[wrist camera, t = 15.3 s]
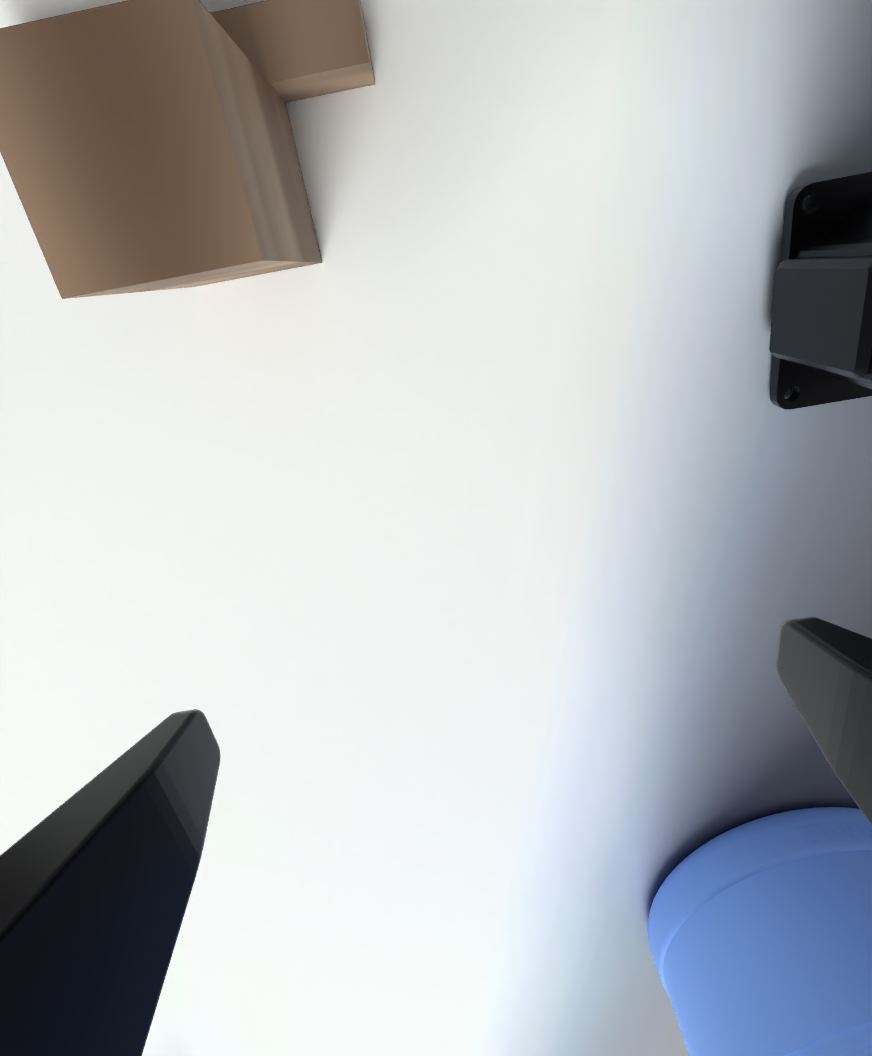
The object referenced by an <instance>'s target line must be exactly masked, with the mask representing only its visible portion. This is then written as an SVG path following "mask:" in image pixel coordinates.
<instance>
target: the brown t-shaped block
mask: <svg viewBox="0 0 872 1056" xmlns="http://www.w3.org/2000/svg"><path fill="white" fill-rule="evenodd" d="M374 84H375V81H374V75H373V69H372V64H371V58H370V52H369V46H368V41H367V35H366V29H365V23H364V18H363V12H362V8H361V4H360V0H268V1H263V2H258V3H254V4H249V5H244V6H240V7H235V8H231V9H226V10H221V11H217V12H212V13H209V11H208V10H207V9H206V8H205V7H204V5H203V4H202V3H201V2H200V1H199V0H128V1H124V2H119V3H114V4H110V5H105V6H101V7H96V8H92V9H87V10H82V11H78V12H73V13H69V14H64V15H60V16H55V17H50V18H46V19H41V20H37V21H32V22H28V23H23V24H18V25H14V26H9V27H5V28H0V152H1V155H2V157H3V159H4V162H5V164H6V167H7V169H8V171H9V174H10V176H11V178H12V181H13V183H14V186H15V188H16V190H17V193H18V195H19V198H20V200H21V202H22V205H23V207H24V209H25V212H26V214H27V217H28V219H29V221H30V224H31V226H32V228H33V231H34V233H35V236H36V238H37V240H38V243H39V245H40V247H41V250H42V252H43V255H44V257H45V259H46V262H47V264H48V267H49V269H50V271H51V274H52V276H53V278H54V281H55V283H56V286H57V288H58V290H59V293H60V295H61V297H62V299H66V298H77V297H88V296H99V295H110V294H121V293H132V292H143V291H154V290H165V289H176V288H187V287H196V286H202V285H207V284H212V283H217V282H223V281H228V280H233V279H238V278H244V277H249V276H254V275H259V274H265V273H270V272H275V271H281V270H286V269H291V268H296V267H302V266H307V265H312V264H317V263H322V259H321V255H320V251H319V246H318V242H317V238H316V233H315V229H314V225H313V220H312V216H311V212H310V207H309V203H308V199H307V195H306V190H305V186H304V182H303V177H302V173H301V169H300V164H299V160H298V156H297V151H296V147H295V143H294V138H293V134H292V130H291V125H290V121H289V117H288V112H287V108H286V104H285V103H286V102H291V101H296V100H301V99H305V98H310V97H315V96H320V95H325V94H330V93H335V92H340V91H344V90H349V89H354V88H359V87H364V86H369V85H374Z"/></svg>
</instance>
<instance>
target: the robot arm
mask: <svg viewBox="0 0 872 1056" xmlns="http://www.w3.org/2000/svg"><path fill="white" fill-rule="evenodd" d="M807 195H809V196H810V198H811V202H812V203H811V206H810V209H809V210H808V211H807V212H806V213H805V212H804V211H803V209H802V203H803V200H804V198H805V197H806V196H807ZM769 349H770V352H771V353H772V354H773V361H772V373H771V385H770V400H771V402H772V403H773V404H774V405H776V406H778V407H781V408H783V409H795V408H801V407H807V406H813V405H819V404H825V403H831V402H837V401H843V400H849V399H855V398H861V397H867V396H872V172H869V173H864V174H859V175H853V176H848V177H843V178H837V179H832V180H827V181H821V182H816V183H811V184H806V185H803V186H800V187H798V188H797V189H795V190H794V191H793V192H792V193H791V195H790V196H789V198H788V200H787V203H786V207H785V216H784V228H783V240H782V252H781V264H780V265H779V267H778V268H777V269H776V273H775V285H774V298H773V310H772V323H771V335H770V348H769ZM790 387H792V388H793V392H792V394H791V396H790V397H789V398H787V399H785V398H784V394H785V391H786V390H787V389H788V388H790ZM777 670H778V674H779V677H780V679H781V681H782V683H783V685H784V687H785V689H786V690H787V692H788V694H789V695H790V697H791V699H792V701H793V702H794V704H795V706H796V708H797V709H798V711H799V713H800V715H801V716H802V718H803V720H804V722H805V723H806V725H807V727H808V729H809V730H810V732H811V734H812V735H813V737H814V739H815V741H816V742H817V744H818V746H819V748H820V749H821V751H822V753H823V755H824V756H825V758H826V760H827V761H828V763H829V764H830V766H831V768H832V769H833V771H834V773H835V774H836V776H837V777H838V778H839V780H840V781H841V783H842V784H843V786H844V787H845V789H846V790H847V791H848V793H849V794H850V796H851V797H852V798H853V800H854V801H855V803H856V804H857V805H858V807H859V808H860V810H861V811H862V812H863V814H864V815H865V817H866V818H867V819H868V821H869V822H870V823H871V825H872V639H871V638H868V637H865V636H863V635H860V634H857V633H855V632H852V631H850V630H847V629H844V628H842V627H839V626H837V625H834V624H831V623H829V622H826V621H824V620H821V619H818V618H815V617H806V618H800V619H793V620H788V621H786V622H784V623H783V625H782V626H781V630H780V639H779V648H778V657H777ZM219 764H220V750H219V746H218V743H217V741H216V739H215V737H214V735H213V732H212V730H211V728H210V726H209V723H208V721H207V719H206V717H205V715H204V713H203V712H201V711H200V710H196V709H195V710H188V711H181V712H176V713H173V714H171V715H170V716H169V717H168V718H166V719H165V720H164V721H163V722H162V723H160V724H159V725H158V726H157V727H155V728H154V729H153V730H152V731H151V732H149V733H148V734H147V735H146V736H145V737H143V738H142V739H141V740H140V741H138V742H137V743H136V744H135V745H134V746H132V747H131V748H130V749H129V750H128V751H126V752H125V753H124V754H123V755H122V756H120V757H119V758H118V759H117V760H115V761H114V762H113V763H112V764H111V765H109V766H108V767H107V768H106V769H105V770H103V771H102V772H101V773H100V774H98V775H97V776H96V777H95V778H94V779H92V780H91V781H90V782H89V783H88V784H86V785H85V786H84V787H83V788H82V789H80V790H79V791H78V792H77V793H75V794H74V795H73V796H72V797H71V798H69V799H68V800H67V801H66V802H65V803H63V804H62V805H61V806H60V807H59V808H57V809H56V810H55V811H54V812H52V813H51V814H50V815H49V816H48V817H46V818H45V819H44V820H43V821H42V822H40V823H39V824H38V825H37V826H35V827H34V828H33V829H32V830H31V831H29V832H28V833H27V834H26V835H25V836H23V837H22V838H21V839H20V840H19V841H17V842H16V843H15V844H14V845H12V846H11V847H10V848H9V849H8V850H6V851H5V852H4V853H3V854H2V855H0V1056H142V1053H143V1049H144V1046H145V1043H146V1039H147V1036H148V1033H149V1030H150V1026H151V1023H152V1020H153V1016H154V1013H155V1010H156V1006H157V1003H158V1000H159V996H160V993H161V990H162V986H163V983H164V980H165V976H166V973H167V970H168V967H169V963H170V960H171V957H172V953H173V950H174V947H175V943H176V940H177V937H178V933H179V930H180V927H181V923H182V920H183V917H184V913H185V910H186V907H187V904H188V900H189V897H190V894H191V890H192V887H193V884H194V880H195V877H196V873H197V870H198V866H199V863H200V859H201V855H202V850H203V846H204V841H205V836H206V831H207V826H208V821H209V816H210V810H211V805H212V800H213V795H214V790H215V785H216V780H217V775H218V769H219Z"/></svg>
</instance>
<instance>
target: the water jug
mask: <svg viewBox="0 0 872 1056" xmlns="http://www.w3.org/2000/svg"><path fill="white" fill-rule="evenodd" d="M648 940H649V945H650V949H651V952H652V955H653V958H654V961H655V964H656V967H657V970H658V973H659V976H660V979H661V982H662V984H663V986H664V988H665V990H666V992H667V993H668V995H669V997H670V1000H671V1003H672V1006H673V1009H674V1012H675V1015H676V1018H677V1021H678V1024H679V1026H680V1029H681V1032H682V1035H683V1038H684V1041H685V1044H686V1047H687V1050H688V1053H689V1056H872V825H871V823H870V822H869V821H868V819H867V818H866V817H865V815H864V814H863V812H862V811H861V810H860V809H856V808H845V807H818V808H807V809H799V810H793V811H787V812H782V813H778V814H774V815H770V816H766V817H763V818H759V819H756V820H753V821H751V822H748V823H745V824H743V825H740V826H738V827H735V828H733V829H731V830H729V831H727V832H725V833H723V834H721V835H719V836H717V837H715V838H713V839H712V840H710V841H708V842H707V843H705V844H704V845H702V846H701V847H699V848H698V849H696V850H695V851H694V852H692V853H691V854H690V855H689V856H687V857H686V858H685V859H684V860H683V861H682V862H681V863H680V864H679V865H678V866H677V867H676V868H675V869H674V870H673V871H672V872H671V873H670V874H669V875H668V877H667V878H666V879H665V881H664V882H663V884H662V885H661V887H660V888H659V890H658V892H657V894H656V896H655V898H654V900H653V903H652V906H651V909H650V913H649V918H648Z"/></svg>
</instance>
